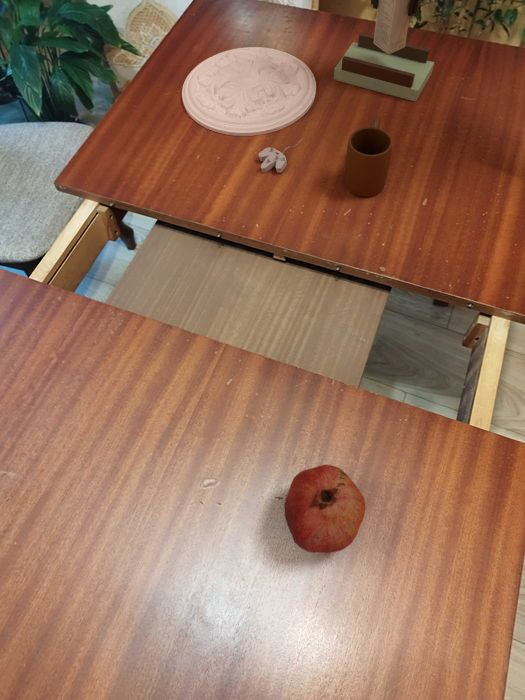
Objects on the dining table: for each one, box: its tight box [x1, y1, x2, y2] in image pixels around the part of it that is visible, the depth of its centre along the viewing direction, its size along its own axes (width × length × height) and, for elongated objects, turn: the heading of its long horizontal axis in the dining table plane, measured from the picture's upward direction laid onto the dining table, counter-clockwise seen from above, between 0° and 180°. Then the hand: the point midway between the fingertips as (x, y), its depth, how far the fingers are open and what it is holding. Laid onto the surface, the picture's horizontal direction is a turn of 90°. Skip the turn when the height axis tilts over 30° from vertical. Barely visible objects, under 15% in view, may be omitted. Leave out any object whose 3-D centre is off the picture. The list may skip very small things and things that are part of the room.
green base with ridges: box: [333, 32, 435, 103], centre depth 112 cm, size 18×10×5 cm, turn 63°
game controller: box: [258, 137, 307, 174], centre depth 103 cm, size 6×12×3 cm, turn 153°
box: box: [373, 0, 411, 54], centre depth 103 cm, size 5×4×11 cm
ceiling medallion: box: [181, 46, 317, 137], centre depth 112 cm, size 28×28×3 cm
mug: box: [343, 115, 394, 198], centre depth 96 cm, size 12×8×9 cm, turn 166°
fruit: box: [283, 464, 366, 554], centre depth 66 cm, size 11×10×10 cm
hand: (393, 10), depth 102 cm, fingers closed on box, 6 cm apart
